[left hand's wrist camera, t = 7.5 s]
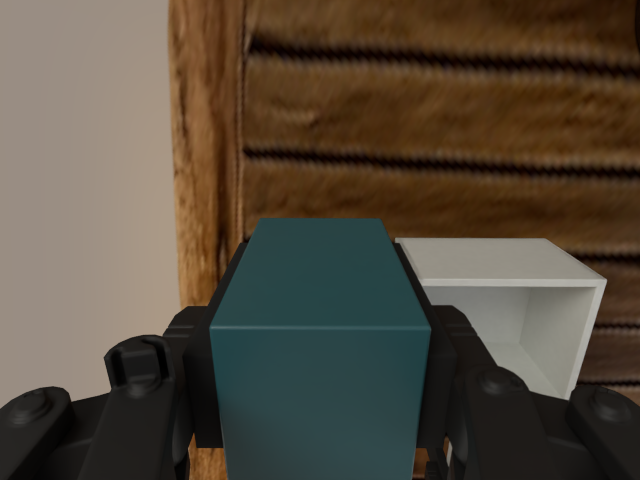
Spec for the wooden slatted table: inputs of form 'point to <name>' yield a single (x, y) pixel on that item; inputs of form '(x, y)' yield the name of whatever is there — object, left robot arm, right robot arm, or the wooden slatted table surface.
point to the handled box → (515, 302)
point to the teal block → (319, 355)
